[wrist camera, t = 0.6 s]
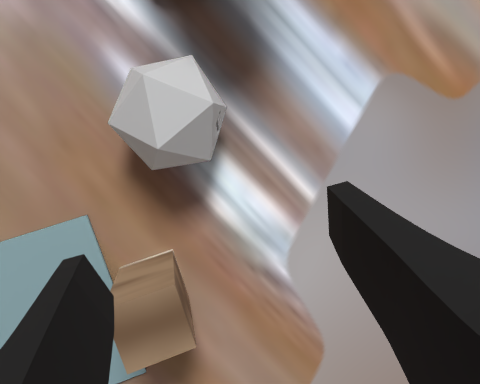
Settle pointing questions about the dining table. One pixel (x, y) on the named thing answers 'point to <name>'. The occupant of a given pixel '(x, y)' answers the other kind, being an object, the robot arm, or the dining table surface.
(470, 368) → the robot arm
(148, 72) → the die
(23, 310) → the mat
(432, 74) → the dining table surface
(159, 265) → the walnut block
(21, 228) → the dining table surface
